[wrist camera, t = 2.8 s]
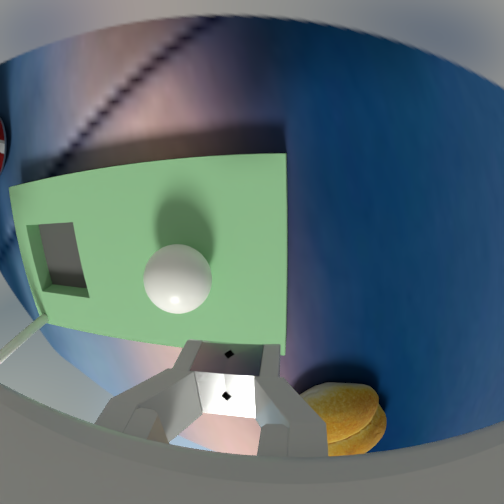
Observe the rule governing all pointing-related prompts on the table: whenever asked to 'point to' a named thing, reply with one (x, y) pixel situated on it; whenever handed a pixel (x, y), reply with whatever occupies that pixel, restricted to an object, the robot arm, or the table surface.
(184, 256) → the ball
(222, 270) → the green
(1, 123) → the soda can
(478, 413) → the table surface
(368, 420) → the bread roll
